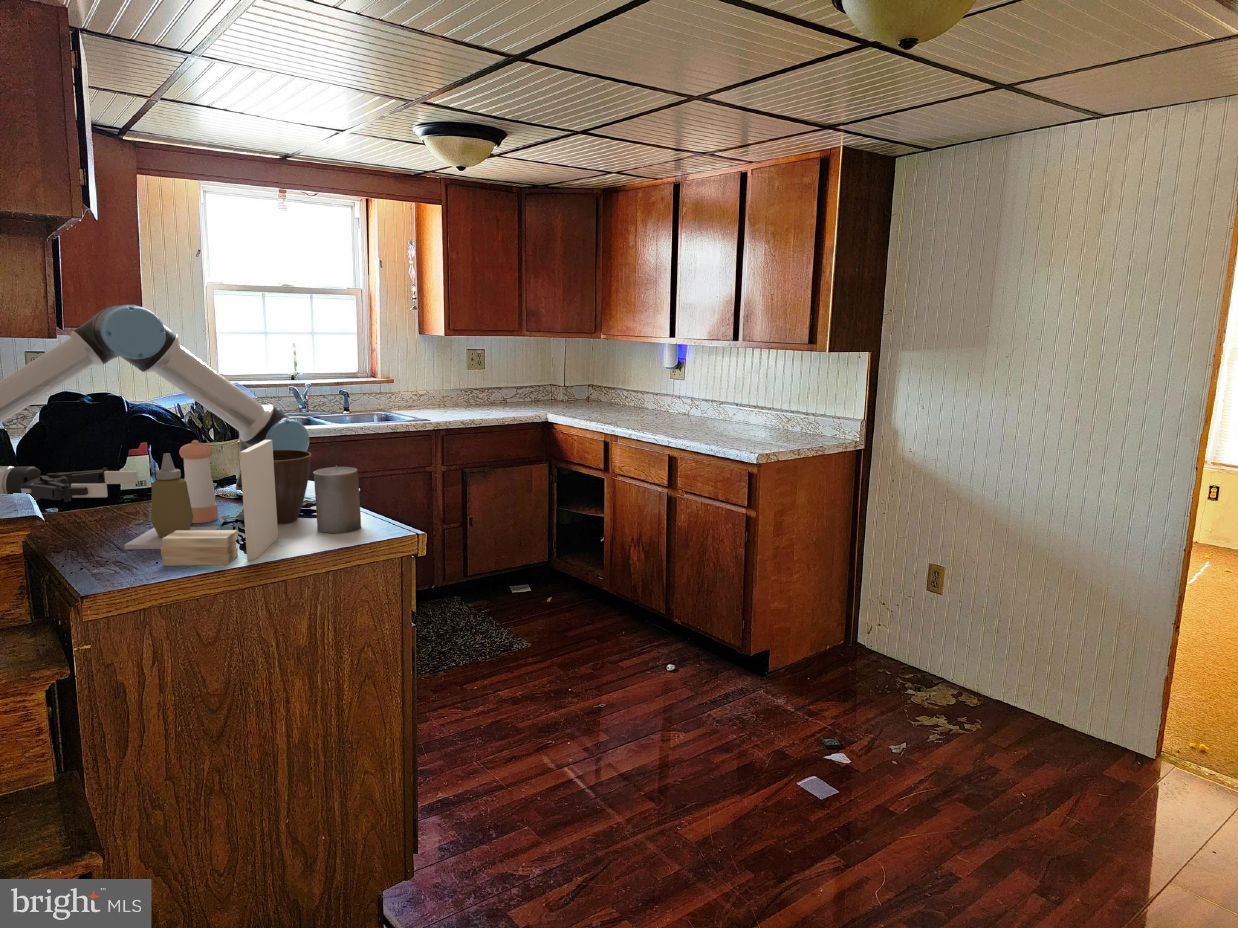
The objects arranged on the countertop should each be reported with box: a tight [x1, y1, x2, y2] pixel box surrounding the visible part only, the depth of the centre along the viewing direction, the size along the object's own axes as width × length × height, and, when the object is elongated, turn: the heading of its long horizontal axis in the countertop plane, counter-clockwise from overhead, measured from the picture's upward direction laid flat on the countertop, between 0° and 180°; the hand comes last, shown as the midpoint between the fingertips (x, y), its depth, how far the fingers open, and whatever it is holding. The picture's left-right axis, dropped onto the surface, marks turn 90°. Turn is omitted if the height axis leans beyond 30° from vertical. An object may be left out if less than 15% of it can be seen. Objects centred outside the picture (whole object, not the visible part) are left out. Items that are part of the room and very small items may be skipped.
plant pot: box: [273, 450, 312, 525], centre depth 193 cm, size 15×15×16 cm
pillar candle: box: [312, 464, 362, 534], centre depth 187 cm, size 10×10×15 cm
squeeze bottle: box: [150, 452, 193, 538], centre depth 175 cm, size 8×8×18 cm
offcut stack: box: [160, 529, 239, 567], centre depth 162 cm, size 7×13×5 cm, turn 97°
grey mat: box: [124, 526, 221, 550], centre depth 177 cm, size 14×14×1 cm
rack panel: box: [239, 440, 279, 561], centre depth 170 cm, size 16×2×22 cm, turn 7°
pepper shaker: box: [178, 439, 219, 524], centre depth 193 cm, size 7×7×19 cm
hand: (122, 483), depth 174 cm, fingers open, 13 cm apart
